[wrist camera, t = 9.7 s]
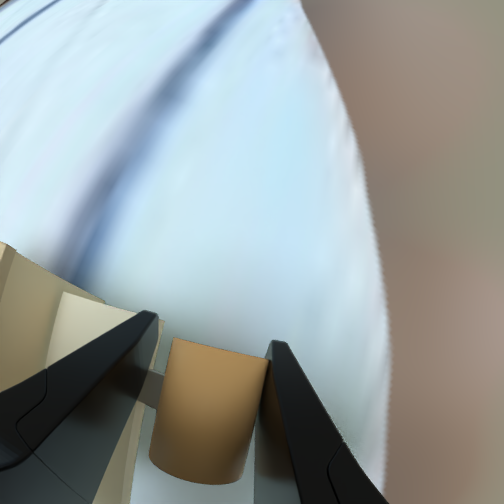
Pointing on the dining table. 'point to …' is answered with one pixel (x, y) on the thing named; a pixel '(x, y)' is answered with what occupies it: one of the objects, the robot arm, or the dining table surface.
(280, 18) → the dining table surface
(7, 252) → the kraft carton
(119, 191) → the dining table surface
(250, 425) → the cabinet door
